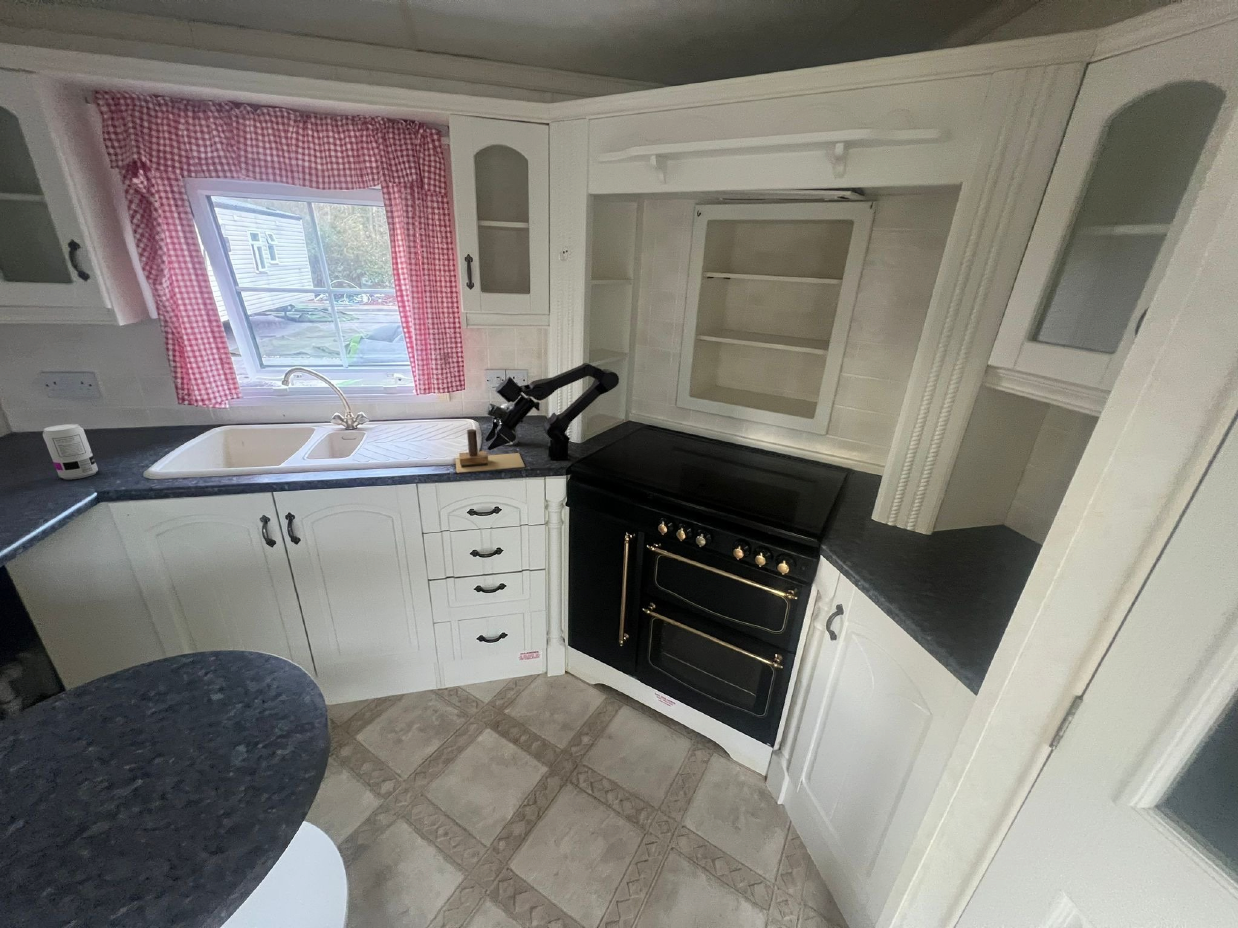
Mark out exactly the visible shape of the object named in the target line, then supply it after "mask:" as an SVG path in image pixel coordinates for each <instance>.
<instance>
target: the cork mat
mask: <svg viewBox="0 0 1238 928" xmlns="http://www.w3.org/2000/svg"><path fill="white" fill-rule="evenodd" d="M487 455H488V465H486V466H475V467H463V468H461V465H460V458H459V457H455V459H454V460H455V468H456V473H457V474H463V473H473V472H474V473H475V472H485V471H496V470H497V471H498V470H508V469H520V468H521V469H522V468H526V465H525V464H524V461H523V459H522V457H521V455H520V453H519V452H515V453H500V454H487Z"/></svg>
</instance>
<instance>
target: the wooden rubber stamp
mask: <svg viewBox="0 0 1238 928" xmlns="http://www.w3.org/2000/svg"><path fill="white" fill-rule="evenodd" d="M477 434H478V433H477V429H474V428H470V429H467V430H466V435H467V436H466V437H467V452H458V455H459V457H458V458H460V465H461V468H463V467H475V466H486V465H488V455H489V454H488V452H487V450H482V451H479V449H478V436H477Z"/></svg>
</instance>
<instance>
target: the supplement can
mask: <svg viewBox="0 0 1238 928" xmlns="http://www.w3.org/2000/svg"><path fill="white" fill-rule="evenodd" d="M42 437H43V441H44V442H45V444H46V447H47V449H48V450H47V451H48V453H49V455H50V457H51V459H52V462H53V465H54V467H55V469H56V472H57V475H58V477H59V478H61V479H63V480H77V479H84V478H87V477H91V476H93V475H95V474H97V472H98V470H99V468H98V465H97V463H96V460H95V457H94V455H93V452H92V449H91V447H90V443H89V441H88V438H87V435H86V433H85V430H84V428H83V427H81V426H80V424H77V423H65V424H57V425H52V426H48V427H45V428H44V429H43V432H42Z"/></svg>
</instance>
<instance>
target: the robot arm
mask: <svg viewBox="0 0 1238 928" xmlns="http://www.w3.org/2000/svg"><path fill="white" fill-rule="evenodd" d="M587 377H590V378H593V381H592V383H591V385H590V386H589V387H588V388H587V389H586V390H585V391H584V392H582V394H580V395H579V396H578V397H577V398H576V399H575V400H574V401H573V402H572V403H570V405H569V406H567V408H565V409H564V410H563V411H562V412H560V413H558V414H557V413H556V412H552V413H551V414H550V416H549V417H548V418H545V422H544V424H543V431H544V433H545V434H546V435H547V437H548V438H549V443H548V458H549V461H569V459H570V458H569V443H570V440H571V438H570V437H569V436H568V434H567V433H566V432H567V431H568V428H569V427H570V425H571V423H572V422H574V420H575V419H576V418H578V416H579V415H581V414H582V413H583V412H584V411H585V410H586V409H587V408H588V407H589V406H591V404H592V403H594V402H595V401H596V400H597V399H598V398H599V397H600V396H602V395H604V394H606V393H608V392H610V391H612V390H614V389H615V388H617V386H618V385H619V384H620V377H619V375H618V374H617V372H614V371H613V370H611V369H609V368H603V369H602V368H599V367H597V366H594V365H593V364H591V363H589V362H583V363H582V364H580V365H577V366H575V367H573V368H571V369H568V370H567V371H566V370H565V371H564V372H561V373H559V374H557V375H554V376H552V377H546V378H540V379H535V380H531V382H530V383H528V384H523V385H519V384H518V383H517V382H516V381H515V380H514V379H513V378H512V377H511V376H508V377H507V378H506V379H504V380H503V381H501V382H500V383H499V384H498V385H497V387H496V388H495V390H494V391H495V393H496V394H497V395H498V396H500V397H501V398H502V399H503V400H504V401H506V403H513V405H512V406H511V407H507V408H506V409H504V408H501V407H500V406H498V405H496V404H493V403H489V404H488V407H487V409H486V411H485V413H486V415H487V416H490V417H491V427H490V428H489V429H490V430H488V432H487V434H486V436H485V439H484V441H485V442H487V443H488V442H490V443H489V445H488V446H487V450H488V451H492V450H494V449H496V448H499V447H502V446H505V445H504V444H507V443H511V442H512V443H513V441H514V440H515V439H516V434H515V432H514V431H515V427H516V426H517V425H518V426H519V424H520V423H521V424H522V423H523V422H524V419H525V418H526V417H527V416H528V415H529V414H530V412H531V411H533V409H535V410H536V411H537V412H540V411H541V408H540V404H541V403H540V401H541V402H542V401H544V400H545V399H547V398H548V397H550V396H552V395H553V394H554V393H555V392H556V391H557V390H559V389H561V388H563V387H566V386H568V385H570V384H573V383H576V382H578V381H580V380H582V379H584V378H587Z"/></svg>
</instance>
